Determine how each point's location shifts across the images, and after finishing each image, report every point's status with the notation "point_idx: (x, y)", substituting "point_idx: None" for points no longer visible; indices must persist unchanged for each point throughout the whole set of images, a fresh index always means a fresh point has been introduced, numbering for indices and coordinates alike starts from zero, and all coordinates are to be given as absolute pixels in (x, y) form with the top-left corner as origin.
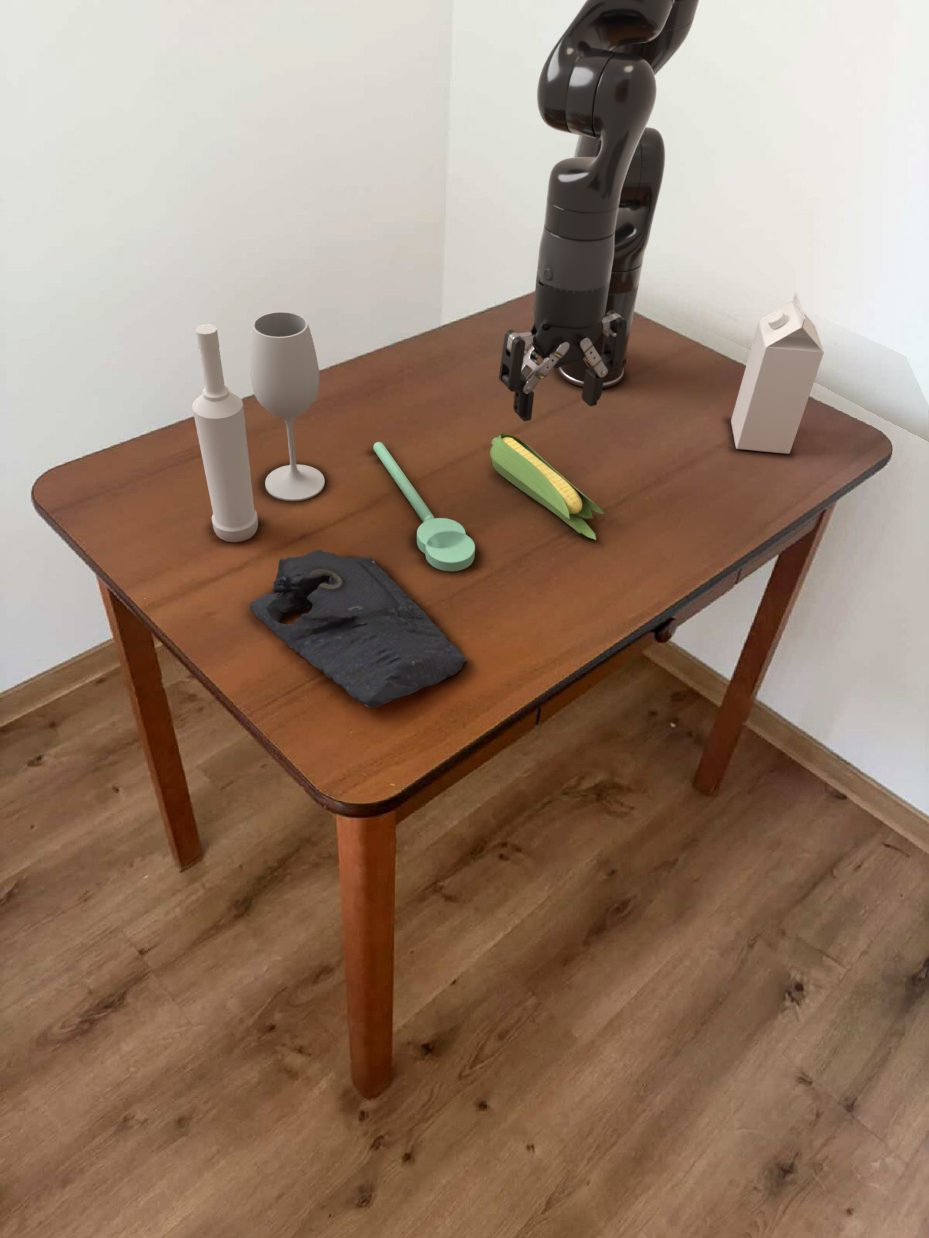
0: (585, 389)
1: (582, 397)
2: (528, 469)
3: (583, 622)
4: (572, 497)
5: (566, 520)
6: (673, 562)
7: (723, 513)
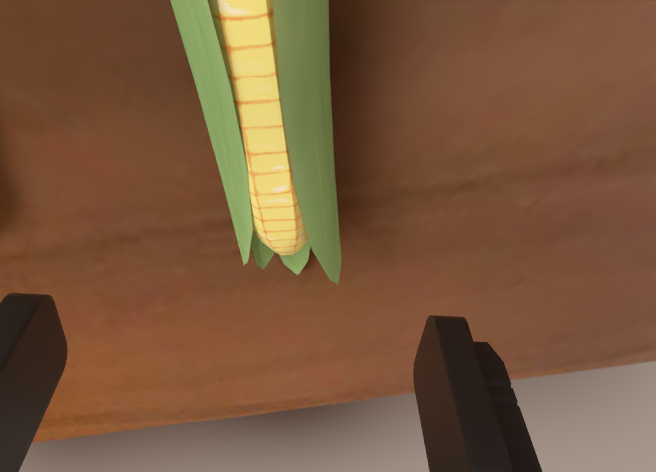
0: (438, 380)
1: (431, 320)
2: (215, 89)
3: (159, 388)
4: (278, 246)
5: (252, 235)
6: (400, 353)
7: (613, 301)
